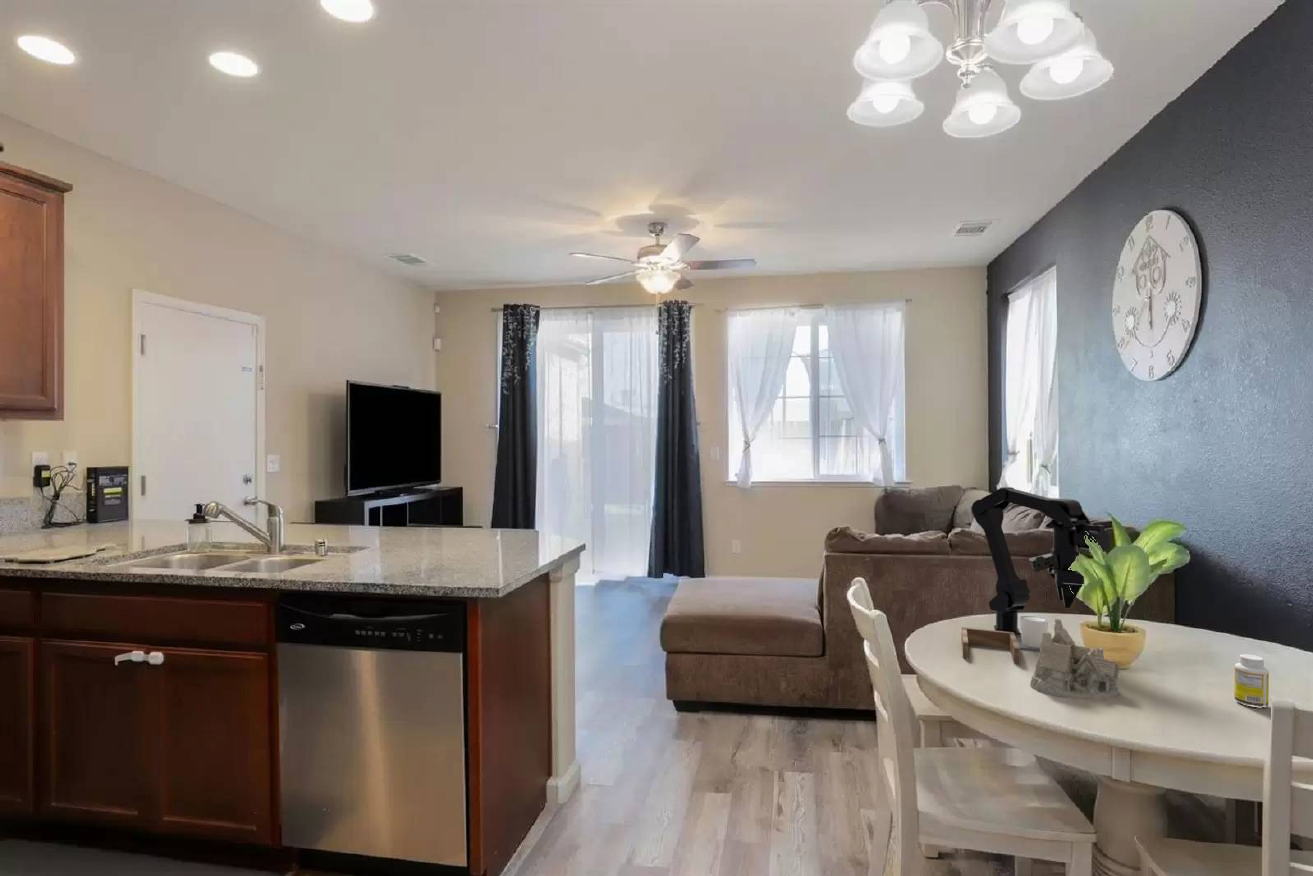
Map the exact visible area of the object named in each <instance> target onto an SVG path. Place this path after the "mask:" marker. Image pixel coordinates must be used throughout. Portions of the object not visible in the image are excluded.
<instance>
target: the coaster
mask: <svg viewBox="0 0 1313 876" xmlns="http://www.w3.org/2000/svg"><path fill="white" fill-rule="evenodd" d="M1016 639H1017V642H1018V645H1019V648H1020V651H1030V652H1037V653H1038V652H1039V653H1040V648H1038V647H1030V646H1026V645H1024V644H1022V638H1017V637H1016Z"/></svg>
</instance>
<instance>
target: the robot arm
mask: <svg viewBox="0 0 1313 876" xmlns="http://www.w3.org/2000/svg"><path fill="white" fill-rule="evenodd" d="M1011 504H1014V505H1018V506H1021V507H1024V508H1028V509H1031V510H1034V511H1037V512H1038V511H1039V512H1041V513H1043V515H1044V516H1045V517H1047V518H1049V519H1051V521H1050V522H1048V523H1047V524H1045V528H1049V529H1053V530H1052V531H1053V532H1052V533H1053V537H1052V539H1053V541H1052V544H1053V545H1052V548H1051V549H1050V553H1047V554H1041V555H1037V556H1034V557H1030V558H1029V559H1028V561H1029V563H1030V565H1031V569H1032V570H1033V572H1034V573H1039V572H1041V571H1044V570H1047V572H1048V574H1049V575H1050V576H1051V578H1053V579H1054V582H1055V586H1056V590H1057V594H1058V600H1060V601H1063V604H1064V607H1065V608H1067V609H1070V608H1071V607H1072V604H1073V603H1074V601H1075V599H1076V597H1077V595H1078V593H1079V592H1080V590H1081V588H1082V587H1083V585H1084V584H1085V576H1084V575H1083V574H1082V573H1081V572H1080V571H1079V572H1078V571H1072V570H1068V568H1069V567H1070V566H1071V564H1072V563H1073V562H1074V561H1075V559H1076V557H1077V556H1080V551H1078V548H1079V549H1080V550H1081V549H1082V550H1088V551H1091V550H1090V549H1089V546H1088V545H1087V544H1086V543H1085V539H1086V536H1085V535H1087V536H1088V539H1089V540H1090V538H1091V539H1092V540H1094V539H1095V540H1096V541H1095V540H1094V542H1095V543H1097V542H1098V545H1100V546H1101V548H1102V550H1103V552H1102V553H1104V552H1106V551H1107V550H1108V549H1109V546H1110V543H1111V538H1110V535H1109V533H1108V532H1107V531H1106V528H1105V527H1106V526H1105V525H1101V524H1098V525H1097V524H1096V525H1095V524H1093V523H1092V522H1091V521H1090V519H1089V518H1088V516H1087V515H1086V514H1085V512H1084V511H1083V508H1082V506H1081V503H1080V501H1078V500H1076V499H1070V498H1054V497H1053V498H1050V497H1046V496H1042V495H1040V494H1034V493H1031V492H1028V491H1027V492H1026V491H1024V490H1019V489H1016V488H1014V487H1011V486H1009V487H1008V486H1007V487H999V488H998V489H996V490H995V491H994V492H992V493H990V494H988V495H986V496H983V497H982V498H981V499H976V500H975V501H974V502H973V503H972V505H971V506H970V507H971V508H970V509H971V513H972V515H973V517H974V520H975V522H976V523H977V525H978V526H980V527H981V529H982V530H983V532H984V535H985V539H986V542H987V545H988V549H989V551H990V552H989V553H990V555H991V558H992V562H993V565H994V569H995V572H996V575H997V581H996V584H995V592H996V595H995V596H994V597H993V598H992V599H991V600H989V601H988V605H989V609H990V610H991V611H995V624H994V625H993V629H994V630H995V631H1004V632H1014V634H1015V635H1021V630H1020V629H1019V626H1018V625H1019V611H1025V607H1026V605H1027V604H1028V603H1029V601H1030V599H1031V598H1030V597H1031V596H1030V594H1031V591H1030V589H1029V587H1028V581H1027V579H1026V578H1022V579H1021V578H1020V577H1019V576H1018V575H1017V573H1016V570H1015V567H1014V564H1013V563H1014V562H1013V561H1012V556H1011V554H1010V550H1009V547H1008V544H1007V541H1006V537H1005V534H1004V530H1003V527H1002V525H1003V521H1004V517H1005V516H1004V511H1005V510H1006V509H1007V508H1008V507H1009V506H1010V505H1011ZM1085 531H1087V532H1088V533H1089V535H1088V534H1087V532H1085ZM1084 536H1085V539H1084ZM1092 536H1093V537H1094V539H1093V538H1092ZM1092 540H1090V542H1092ZM1077 558H1078V557H1077ZM1070 569H1071V568H1070ZM1082 584H1083V585H1082ZM1069 586H1070V587H1069ZM1070 588H1071V590H1070ZM1071 591H1072V592H1073V593H1074V594H1073V593H1072V592H1071Z"/></svg>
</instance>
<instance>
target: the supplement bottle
mask: <svg viewBox="0 0 1313 876" xmlns="http://www.w3.org/2000/svg"><path fill="white" fill-rule="evenodd" d="M1238 660H1239V662H1237V663H1235V664H1234V700H1236V701H1238V702H1240V703H1242V704H1245V705H1254V706H1258V707H1262V706H1268V707H1269V691H1270V690H1269V683H1270V681H1269V676H1270V674H1269V673H1270V671H1269V669H1268V668H1267V667H1266V666H1265V660H1264V658H1263V657H1261V656H1258V655H1254V654H1247V653H1245V654H1240V655H1239V659H1238ZM1236 701H1235V702H1236ZM1238 702H1237V703H1238Z"/></svg>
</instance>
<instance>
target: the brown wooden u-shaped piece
mask: <svg viewBox="0 0 1313 876" xmlns="http://www.w3.org/2000/svg"><path fill="white" fill-rule="evenodd" d="M1016 638H1017V637H1016V634H1014V632H1004V631H995V629H994V630H992V629H986V628H985V629H984V628H975V627H966V626H964V627H963V626H961V652H962V658H963V659H969V644H973V645H979V646H981V645H982V646H987V647H988V646H990V647H997V648H998V647H999V648H1006V649H1009V651H1010V654H1011V658H1012V661H1013V664H1014V665H1020V663H1021V658H1020V657H1021V655H1020V654H1021V650H1020V648H1019V645H1018V642H1017V639H1018V638H1017V639H1016Z"/></svg>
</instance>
